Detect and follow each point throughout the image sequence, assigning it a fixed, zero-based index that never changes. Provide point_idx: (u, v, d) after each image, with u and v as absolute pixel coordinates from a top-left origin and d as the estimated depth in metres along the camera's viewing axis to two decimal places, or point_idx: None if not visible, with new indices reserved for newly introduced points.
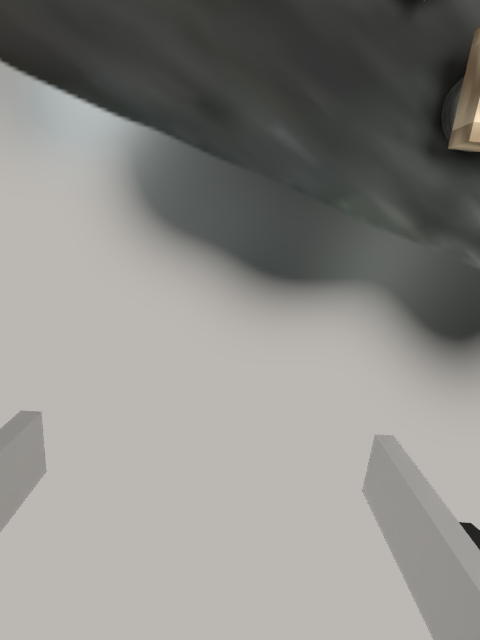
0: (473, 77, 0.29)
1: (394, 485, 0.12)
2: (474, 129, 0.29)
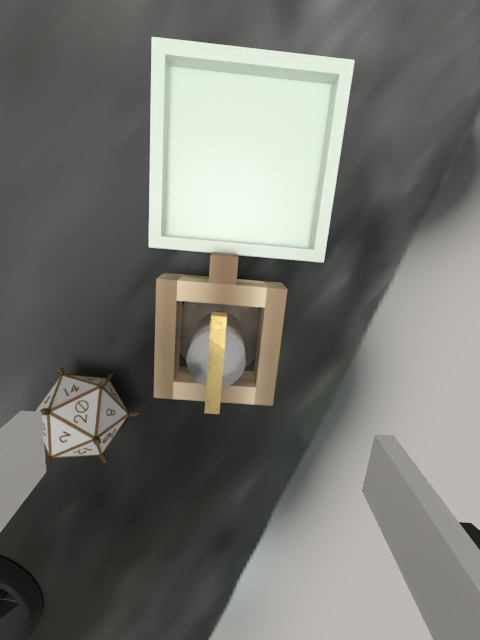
0: None
1: (394, 485, 0.12)
2: (261, 402, 0.27)
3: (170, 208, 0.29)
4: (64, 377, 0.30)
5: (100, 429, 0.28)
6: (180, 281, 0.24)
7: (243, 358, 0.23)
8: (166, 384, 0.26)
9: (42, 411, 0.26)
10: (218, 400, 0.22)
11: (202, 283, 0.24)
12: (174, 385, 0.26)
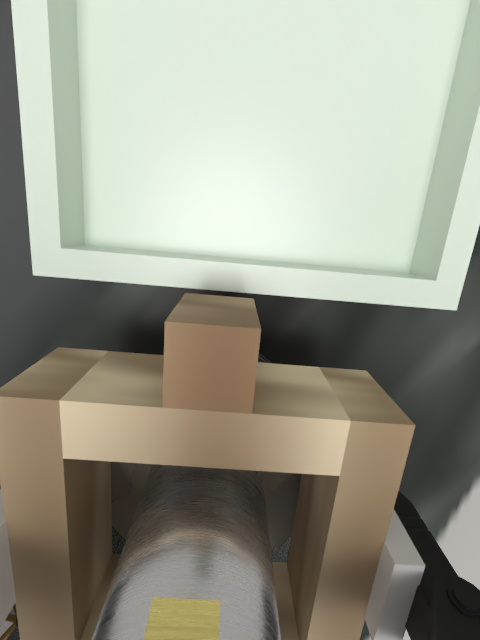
0: None
1: None
2: None
3: (93, 181, 0.13)
4: None
5: None
6: (70, 403, 0.07)
7: None
8: None
9: None
10: None
11: (142, 409, 0.07)
12: None
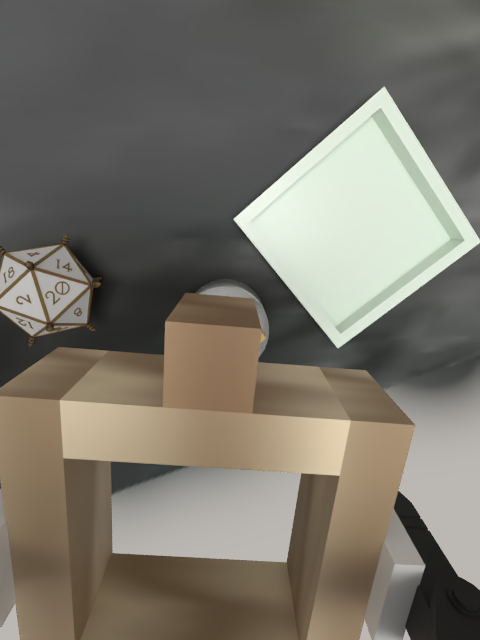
0: None
1: None
2: None
3: (273, 206, 0.30)
4: (64, 249, 0.27)
5: (59, 319, 0.26)
6: (71, 403, 0.07)
7: None
8: None
9: (28, 263, 0.24)
10: None
11: (142, 409, 0.07)
12: None
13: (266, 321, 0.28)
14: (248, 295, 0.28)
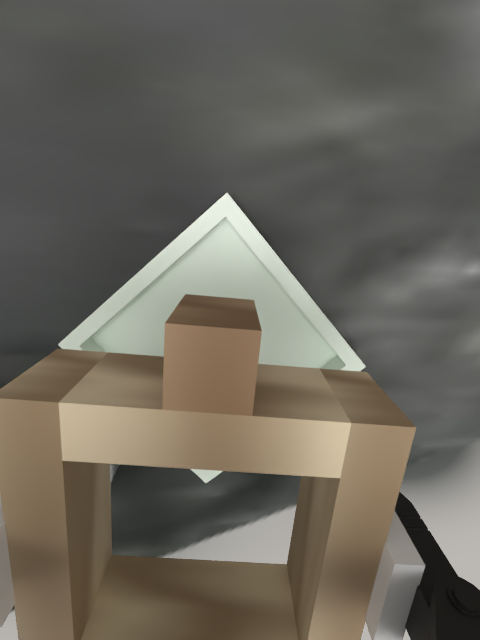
0: None
1: None
2: None
3: (117, 320, 0.24)
4: None
5: None
6: (70, 405, 0.07)
7: None
8: None
9: None
10: None
11: (142, 411, 0.07)
12: None
13: None
14: None
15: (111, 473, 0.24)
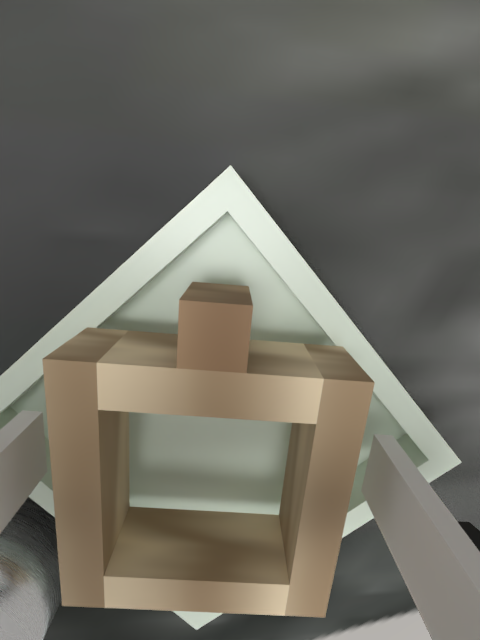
0: None
1: (393, 484, 0.12)
2: (300, 611, 0.12)
3: None
4: None
5: None
6: (105, 365, 0.10)
7: None
8: (89, 581, 0.12)
9: None
10: None
11: (161, 369, 0.10)
12: (106, 583, 0.12)
13: (19, 634, 0.14)
14: None
15: (41, 629, 0.15)
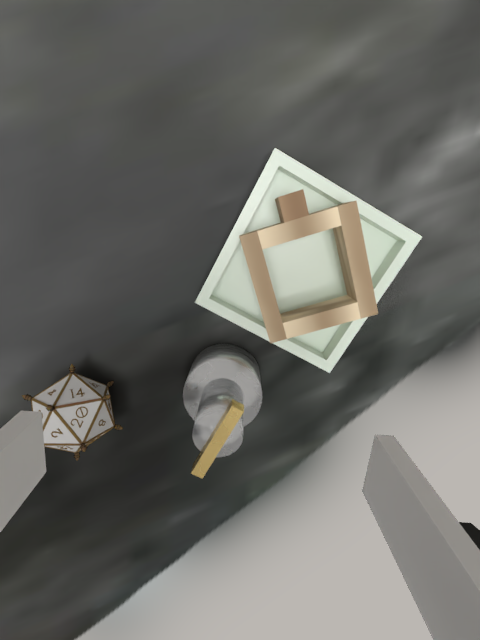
0: None
1: (394, 485, 0.12)
2: (366, 314, 0.29)
3: (225, 275, 0.33)
4: (73, 377, 0.33)
5: (89, 436, 0.31)
6: (260, 231, 0.27)
7: (240, 442, 0.27)
8: (277, 327, 0.29)
9: (49, 407, 0.29)
10: (206, 468, 0.26)
11: (279, 225, 0.27)
12: (284, 326, 0.29)
13: (254, 377, 0.32)
14: (230, 362, 0.31)
15: (260, 383, 0.33)
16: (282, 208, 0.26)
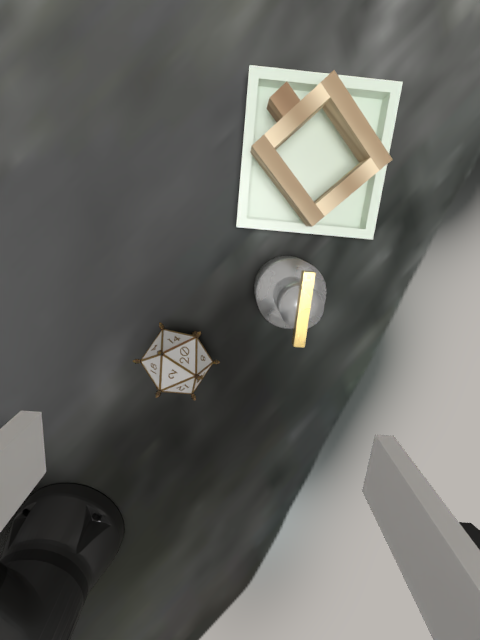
0: None
1: (394, 485, 0.12)
2: (383, 164, 0.32)
3: (251, 196, 0.37)
4: (165, 331, 0.38)
5: (198, 369, 0.36)
6: (266, 133, 0.31)
7: (322, 306, 0.31)
8: (313, 209, 0.33)
9: (159, 352, 0.34)
10: (304, 336, 0.30)
11: (280, 120, 0.31)
12: (318, 206, 0.33)
13: (310, 265, 0.36)
14: (285, 260, 0.35)
15: None
16: (276, 105, 0.31)
